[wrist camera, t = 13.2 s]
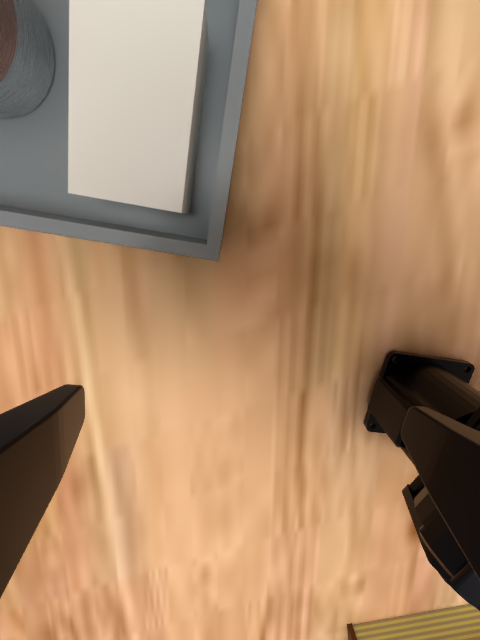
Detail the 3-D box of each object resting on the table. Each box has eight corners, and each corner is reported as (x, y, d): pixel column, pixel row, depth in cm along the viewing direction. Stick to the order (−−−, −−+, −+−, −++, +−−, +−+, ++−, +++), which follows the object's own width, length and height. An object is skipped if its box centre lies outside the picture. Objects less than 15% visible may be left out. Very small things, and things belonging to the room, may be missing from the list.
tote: (261, -32, 16) (273, -109, 12) (219, 252, 20) (218, 261, 16) (-143, -138, 14) (-277, -268, 10) (-96, 200, 18) (-180, 196, 14)
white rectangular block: (208, 47, 16) (205, -4, 12) (189, 213, 18) (181, 213, 15) (106, 23, 16) (69, -38, 12) (100, 197, 18) (67, 193, 14)
